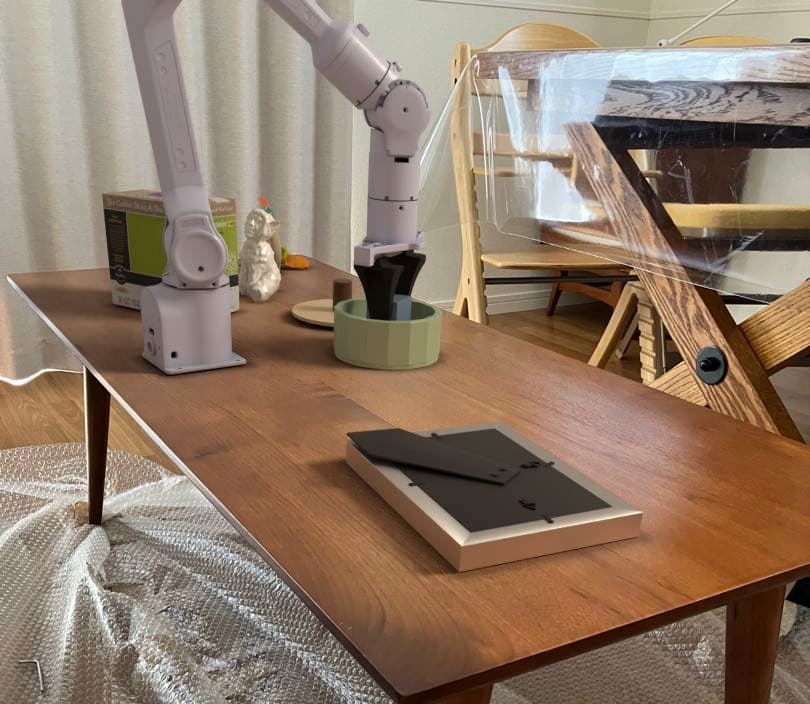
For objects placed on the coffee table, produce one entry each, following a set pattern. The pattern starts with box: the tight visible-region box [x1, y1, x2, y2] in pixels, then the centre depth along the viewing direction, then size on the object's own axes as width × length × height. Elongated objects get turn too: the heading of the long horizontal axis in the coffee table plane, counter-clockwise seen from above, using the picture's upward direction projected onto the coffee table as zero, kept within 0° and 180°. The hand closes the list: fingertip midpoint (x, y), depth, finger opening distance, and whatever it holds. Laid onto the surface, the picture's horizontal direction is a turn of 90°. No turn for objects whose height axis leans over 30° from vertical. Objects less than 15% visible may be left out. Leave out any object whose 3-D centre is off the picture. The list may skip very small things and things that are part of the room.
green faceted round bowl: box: [333, 296, 443, 371], centre depth 109 cm, size 13×13×6 cm
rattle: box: [258, 196, 310, 271], centre depth 149 cm, size 8×8×12 cm
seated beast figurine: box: [238, 207, 282, 303], centre depth 133 cm, size 10×9×12 cm
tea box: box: [101, 188, 240, 313], centre depth 122 cm, size 15×10×15 cm
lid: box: [291, 278, 353, 328], centre depth 124 cm, size 14×14×5 cm
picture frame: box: [345, 420, 644, 573], centre depth 74 cm, size 16×3×21 cm
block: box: [366, 294, 413, 321], centre depth 108 cm, size 4×4×4 cm
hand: (388, 318), depth 109 cm, fingers closed on block, 4 cm apart
